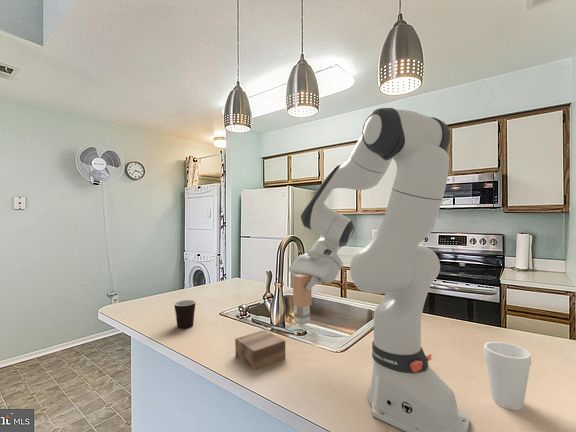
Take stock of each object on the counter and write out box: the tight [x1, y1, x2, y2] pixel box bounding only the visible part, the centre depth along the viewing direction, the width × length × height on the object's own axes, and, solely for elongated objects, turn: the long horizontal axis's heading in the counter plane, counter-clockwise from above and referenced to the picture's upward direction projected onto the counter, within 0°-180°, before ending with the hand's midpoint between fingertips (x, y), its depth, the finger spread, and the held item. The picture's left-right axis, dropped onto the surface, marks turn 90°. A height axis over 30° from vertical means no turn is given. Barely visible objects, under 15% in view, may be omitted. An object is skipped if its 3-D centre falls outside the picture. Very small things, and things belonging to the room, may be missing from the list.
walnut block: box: [234, 329, 286, 371], centre depth 99 cm, size 12×12×6 cm
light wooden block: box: [292, 274, 313, 308], centre depth 100 cm, size 4×4×10 cm
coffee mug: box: [174, 299, 196, 330], centre depth 129 cm, size 12×9×10 cm
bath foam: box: [293, 305, 311, 325], centre depth 131 cm, size 7×7×20 cm
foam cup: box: [483, 340, 532, 411], centre depth 74 cm, size 10×9×13 cm
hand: (300, 287), depth 100 cm, fingers closed on light wooden block, 4 cm apart
